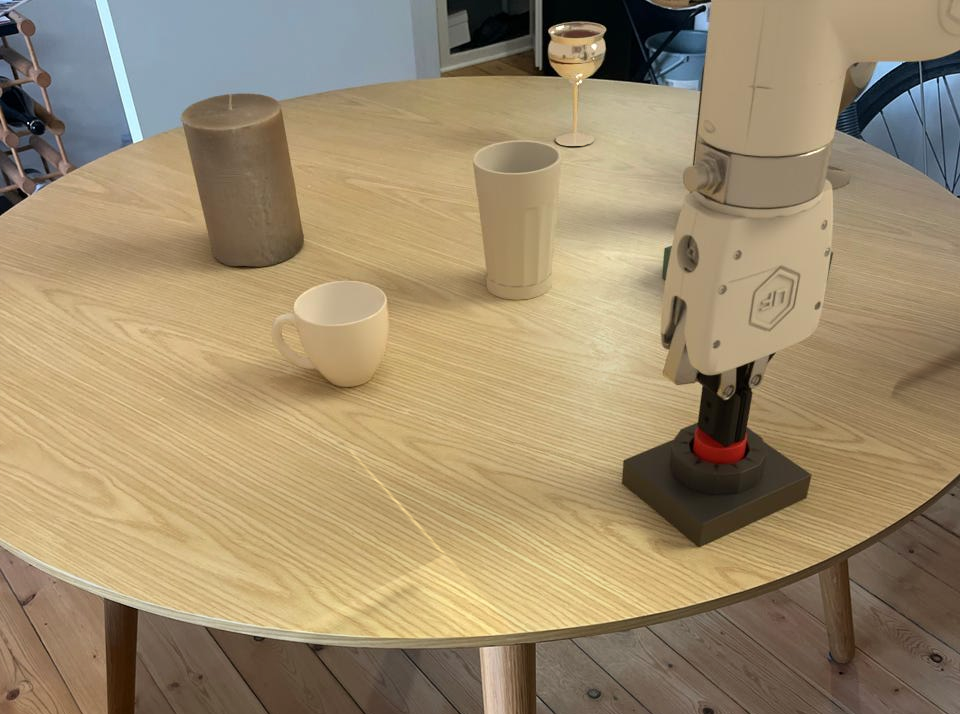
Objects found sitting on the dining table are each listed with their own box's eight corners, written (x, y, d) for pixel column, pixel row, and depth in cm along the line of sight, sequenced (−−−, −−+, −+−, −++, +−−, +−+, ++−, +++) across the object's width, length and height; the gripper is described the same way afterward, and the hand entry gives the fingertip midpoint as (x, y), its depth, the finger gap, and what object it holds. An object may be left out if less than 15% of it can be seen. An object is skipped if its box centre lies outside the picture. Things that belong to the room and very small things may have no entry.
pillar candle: (277, 220, 113) (249, 71, 102) (321, 250, 107) (297, 95, 96) (196, 246, 109) (159, 94, 98) (238, 278, 103) (203, 120, 92)
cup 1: (394, 395, 86) (385, 322, 82) (276, 402, 86) (260, 329, 82) (395, 349, 92) (387, 277, 87) (284, 355, 92) (270, 284, 87)
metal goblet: (869, 180, 114) (903, 28, 103) (815, 197, 111) (844, 43, 100) (818, 158, 118) (846, 11, 108) (765, 174, 116) (788, 25, 105)
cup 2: (464, 278, 101) (457, 152, 93) (534, 258, 103) (533, 134, 95) (502, 311, 96) (498, 181, 87) (575, 290, 98) (578, 161, 90)
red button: (720, 434, 75) (724, 414, 74) (754, 458, 73) (758, 437, 71) (682, 450, 74) (684, 430, 72) (714, 475, 71) (718, 455, 70)
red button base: (724, 440, 80) (731, 396, 77) (806, 499, 74) (816, 453, 72) (621, 484, 77) (624, 439, 74) (698, 548, 71) (705, 503, 68)
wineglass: (575, 154, 122) (578, 42, 114) (535, 140, 126) (535, 31, 117) (613, 138, 125) (619, 28, 117) (573, 125, 129) (576, 18, 121)
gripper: (700, 222, 54) (669, 498, 67) (903, 155, 59) (837, 425, 72) (616, 177, 59) (602, 444, 72) (810, 119, 64) (764, 379, 77)
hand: (720, 434), depth 72 cm, fingers closed
